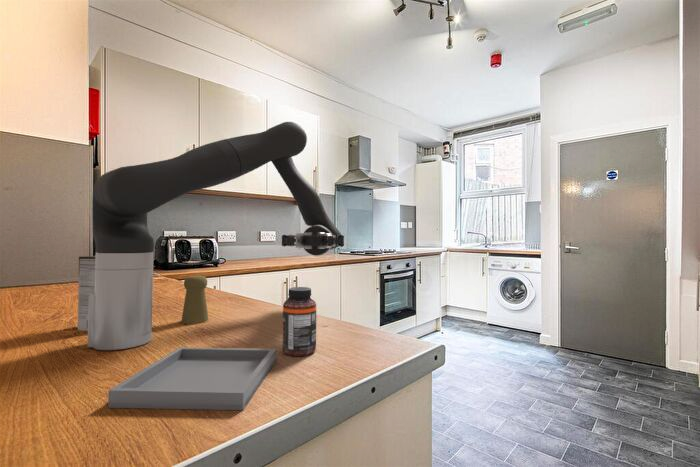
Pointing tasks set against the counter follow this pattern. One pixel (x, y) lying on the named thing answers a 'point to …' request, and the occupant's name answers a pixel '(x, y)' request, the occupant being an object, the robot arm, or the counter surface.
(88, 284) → the coffee box
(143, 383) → the tray
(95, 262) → the robot arm
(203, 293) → the cork
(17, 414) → the counter surface
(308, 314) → the supplement bottle
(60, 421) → the counter surface
